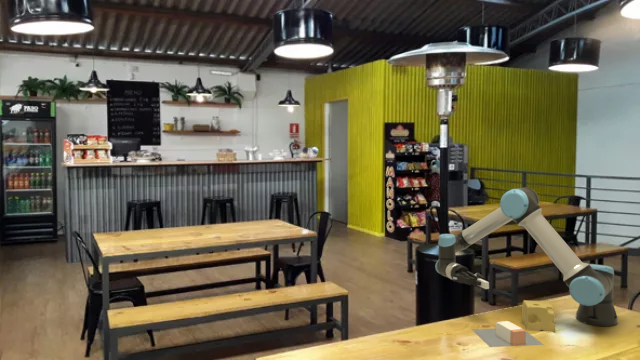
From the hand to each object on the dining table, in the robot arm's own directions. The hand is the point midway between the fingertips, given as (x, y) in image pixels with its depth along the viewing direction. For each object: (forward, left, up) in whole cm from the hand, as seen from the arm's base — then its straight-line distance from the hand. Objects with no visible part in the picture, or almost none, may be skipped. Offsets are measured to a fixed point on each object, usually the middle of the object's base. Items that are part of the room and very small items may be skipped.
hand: (487, 285), depth 213 cm
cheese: (-19, +5, -17) cm, 26 cm away
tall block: (-1, +12, -13) cm, 18 cm away
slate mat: (-2, +14, -16) cm, 22 cm away
